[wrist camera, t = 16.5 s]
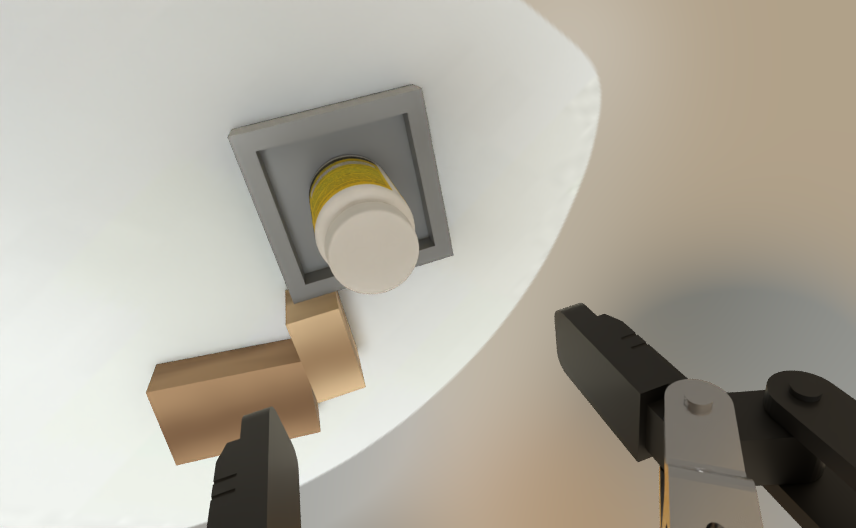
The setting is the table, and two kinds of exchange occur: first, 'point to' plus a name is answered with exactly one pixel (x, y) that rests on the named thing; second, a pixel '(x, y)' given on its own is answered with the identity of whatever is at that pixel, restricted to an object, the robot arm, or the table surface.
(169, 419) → the flat cardboard carton
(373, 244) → the supplement bottle
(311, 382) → the tan rectangular block
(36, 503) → the table surface
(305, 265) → the tray
